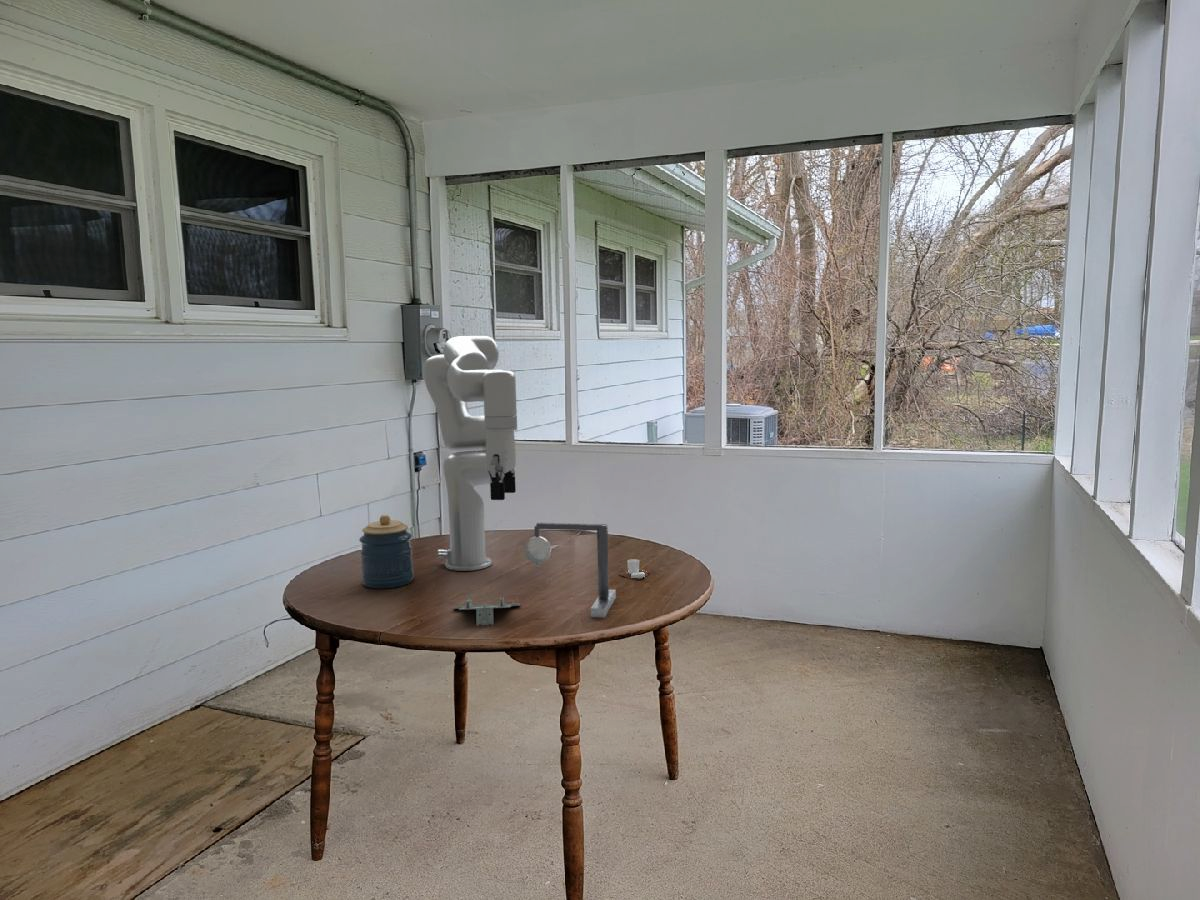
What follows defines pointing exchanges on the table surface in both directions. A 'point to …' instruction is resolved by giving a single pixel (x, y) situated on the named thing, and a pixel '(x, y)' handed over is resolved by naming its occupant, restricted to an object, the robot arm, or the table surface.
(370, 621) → the table surface
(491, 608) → the metal bracket
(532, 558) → the metal desk lamp
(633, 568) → the white ring with cylinder
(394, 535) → the canister
